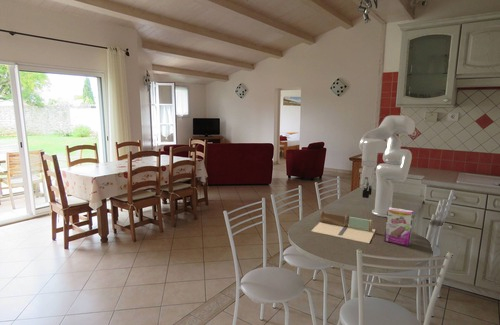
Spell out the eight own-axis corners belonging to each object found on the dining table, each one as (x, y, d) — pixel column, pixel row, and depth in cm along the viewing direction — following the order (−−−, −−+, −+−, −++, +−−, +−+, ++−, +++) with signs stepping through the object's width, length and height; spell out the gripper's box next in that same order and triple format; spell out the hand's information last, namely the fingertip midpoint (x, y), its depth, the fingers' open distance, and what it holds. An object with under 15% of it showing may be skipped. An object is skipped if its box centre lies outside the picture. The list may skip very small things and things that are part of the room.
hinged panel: (349, 225, 168) (349, 215, 167) (372, 230, 162) (373, 219, 161) (348, 226, 167) (349, 216, 166) (372, 231, 161) (372, 220, 160)
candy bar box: (384, 241, 150) (386, 209, 147) (385, 238, 154) (388, 206, 152) (409, 246, 145) (413, 213, 142) (410, 243, 149) (413, 210, 146)
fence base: (320, 221, 177) (320, 210, 175) (348, 227, 169) (349, 215, 168) (319, 222, 175) (319, 211, 174) (347, 228, 167) (348, 216, 166)
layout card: (322, 220, 179) (322, 219, 179) (375, 230, 165) (375, 229, 164) (310, 231, 162) (311, 230, 162) (369, 243, 148) (369, 242, 147)
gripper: (364, 160, 173) (362, 191, 176) (358, 165, 158) (356, 198, 161) (379, 161, 169) (376, 193, 172) (374, 166, 154) (371, 201, 157)
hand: (366, 195), depth 166 cm, fingers open, 6 cm apart
